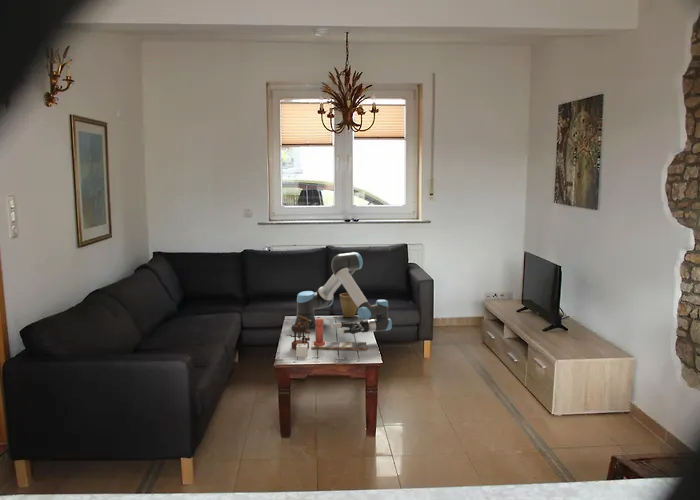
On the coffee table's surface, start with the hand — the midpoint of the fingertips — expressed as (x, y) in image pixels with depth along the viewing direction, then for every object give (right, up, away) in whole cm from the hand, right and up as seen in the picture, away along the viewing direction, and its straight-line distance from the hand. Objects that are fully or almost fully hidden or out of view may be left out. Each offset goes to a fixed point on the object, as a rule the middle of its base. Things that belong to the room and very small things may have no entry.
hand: (334, 328), depth 360 cm
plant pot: (+9, -1, +75) cm, 75 cm away
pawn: (-9, -9, -2) cm, 13 cm away
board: (+3, -11, -2) cm, 11 cm away
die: (-18, -13, -19) cm, 29 cm away
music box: (-21, -11, -5) cm, 24 cm away
